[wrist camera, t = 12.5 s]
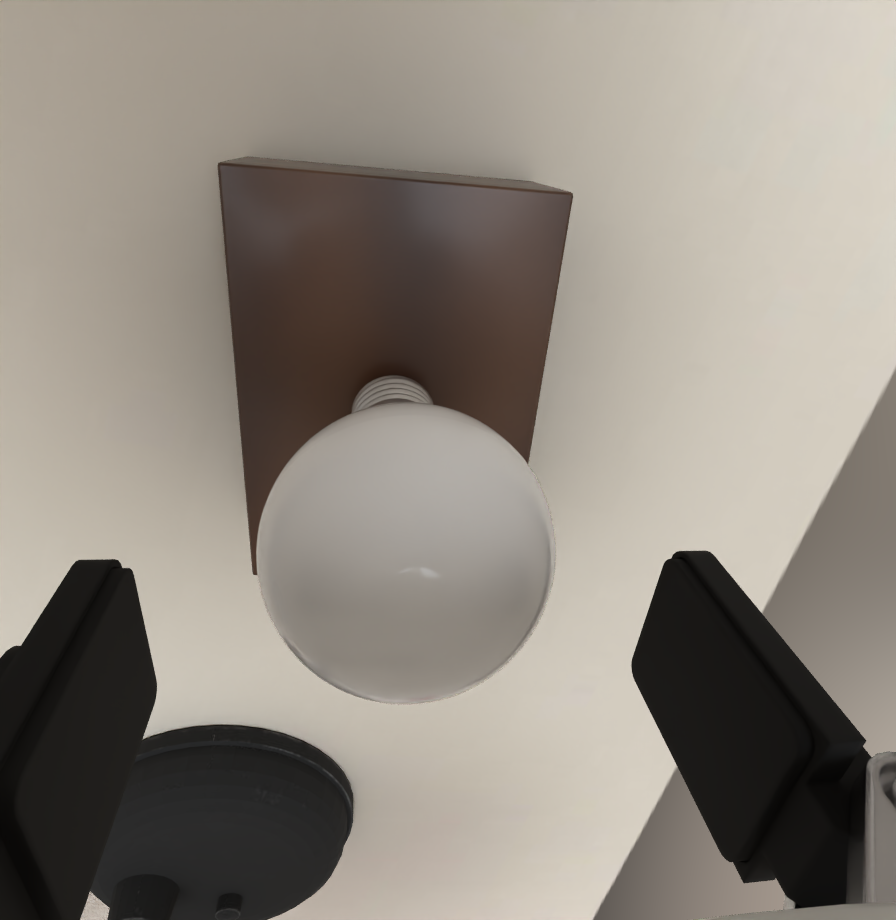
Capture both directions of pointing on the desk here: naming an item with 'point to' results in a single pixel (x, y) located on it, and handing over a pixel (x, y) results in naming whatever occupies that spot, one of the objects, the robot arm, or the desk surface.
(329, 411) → the brown wooden stand
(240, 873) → the desk lamp
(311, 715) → the desk surface
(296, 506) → the lightbulb
